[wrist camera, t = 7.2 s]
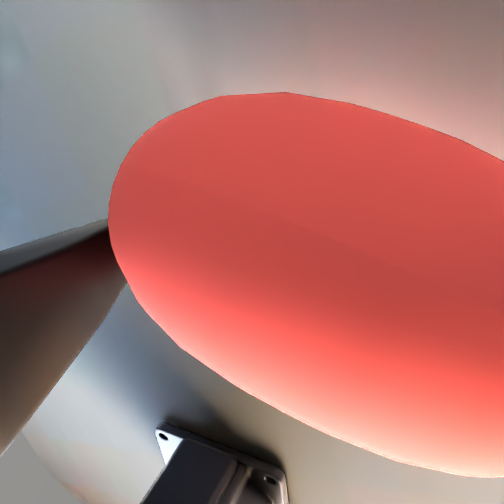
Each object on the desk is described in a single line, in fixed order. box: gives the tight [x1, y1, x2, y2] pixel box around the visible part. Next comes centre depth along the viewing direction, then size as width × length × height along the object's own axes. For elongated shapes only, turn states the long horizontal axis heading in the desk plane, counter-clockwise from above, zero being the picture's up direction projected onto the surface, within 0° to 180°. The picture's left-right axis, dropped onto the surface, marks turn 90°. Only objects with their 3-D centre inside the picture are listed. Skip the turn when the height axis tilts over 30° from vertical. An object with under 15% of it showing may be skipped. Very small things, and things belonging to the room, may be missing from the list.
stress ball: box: [108, 92, 504, 477], centre depth 8 cm, size 5×9×6 cm, turn 70°
